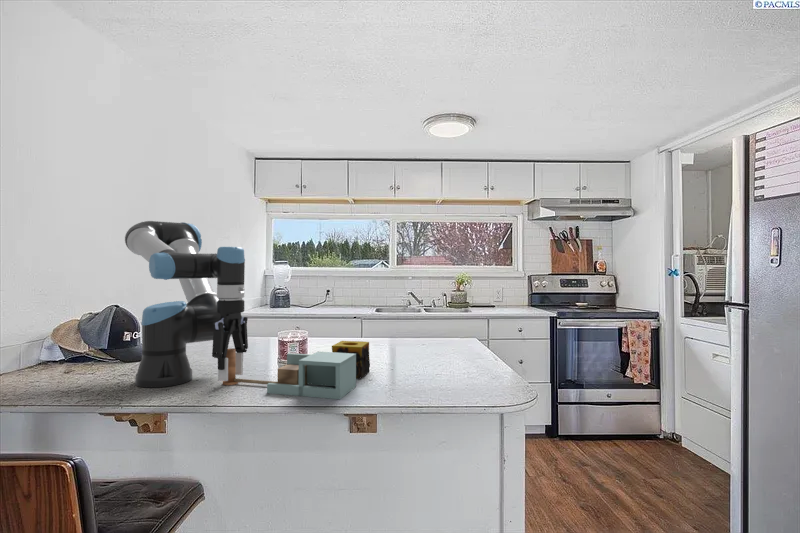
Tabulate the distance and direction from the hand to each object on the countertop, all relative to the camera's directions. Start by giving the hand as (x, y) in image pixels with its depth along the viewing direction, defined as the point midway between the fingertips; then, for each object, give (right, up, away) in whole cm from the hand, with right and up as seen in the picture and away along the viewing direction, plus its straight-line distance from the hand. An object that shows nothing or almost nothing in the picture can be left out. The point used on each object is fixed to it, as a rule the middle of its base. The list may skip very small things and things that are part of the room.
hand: (230, 377), depth 132 cm
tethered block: (+10, -2, -2) cm, 10 cm away
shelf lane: (+25, -2, -6) cm, 26 cm away
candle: (+34, -2, +11) cm, 36 cm away
